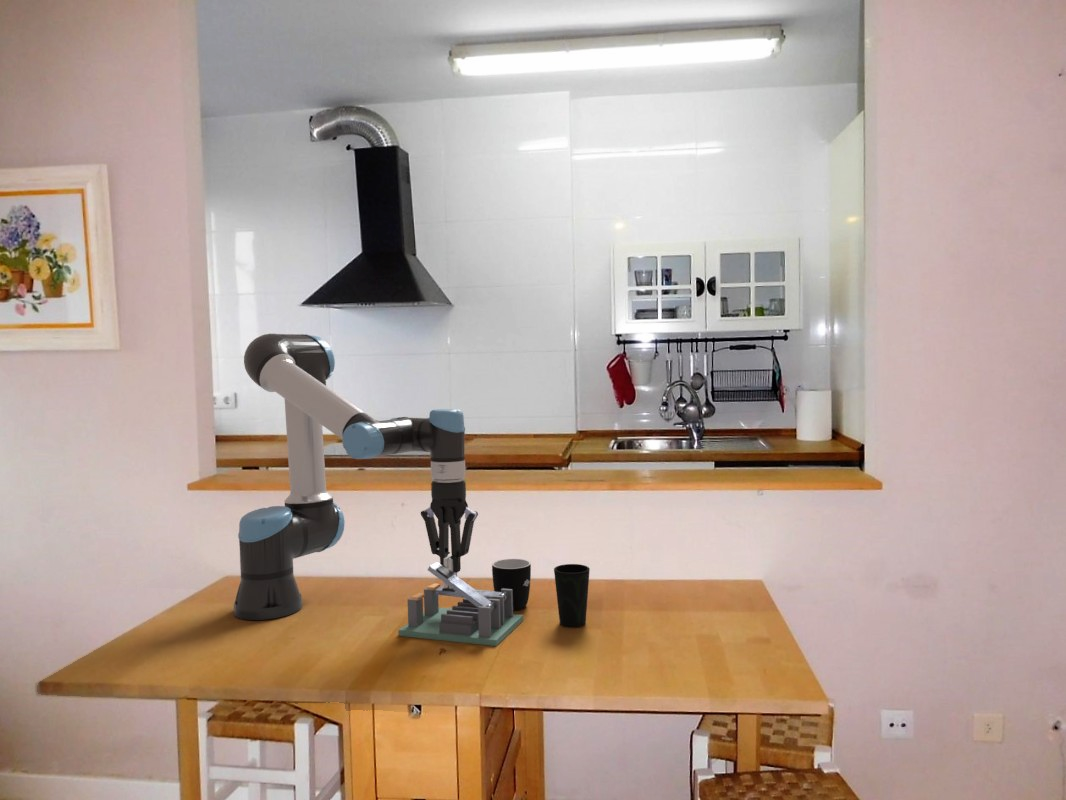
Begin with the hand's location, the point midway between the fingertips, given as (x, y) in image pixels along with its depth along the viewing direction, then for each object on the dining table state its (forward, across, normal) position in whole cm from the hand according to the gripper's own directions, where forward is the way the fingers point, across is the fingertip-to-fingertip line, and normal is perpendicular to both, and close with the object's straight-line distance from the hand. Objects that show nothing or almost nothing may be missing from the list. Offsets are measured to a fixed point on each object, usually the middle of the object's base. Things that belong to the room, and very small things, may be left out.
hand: (450, 586), depth 168 cm
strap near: (-2, +6, -8) cm, 10 cm away
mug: (+8, +9, +14) cm, 19 cm away
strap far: (+2, +5, 0) cm, 5 cm away
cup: (+8, +26, +6) cm, 28 cm away
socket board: (+8, +4, -4) cm, 9 cm away
